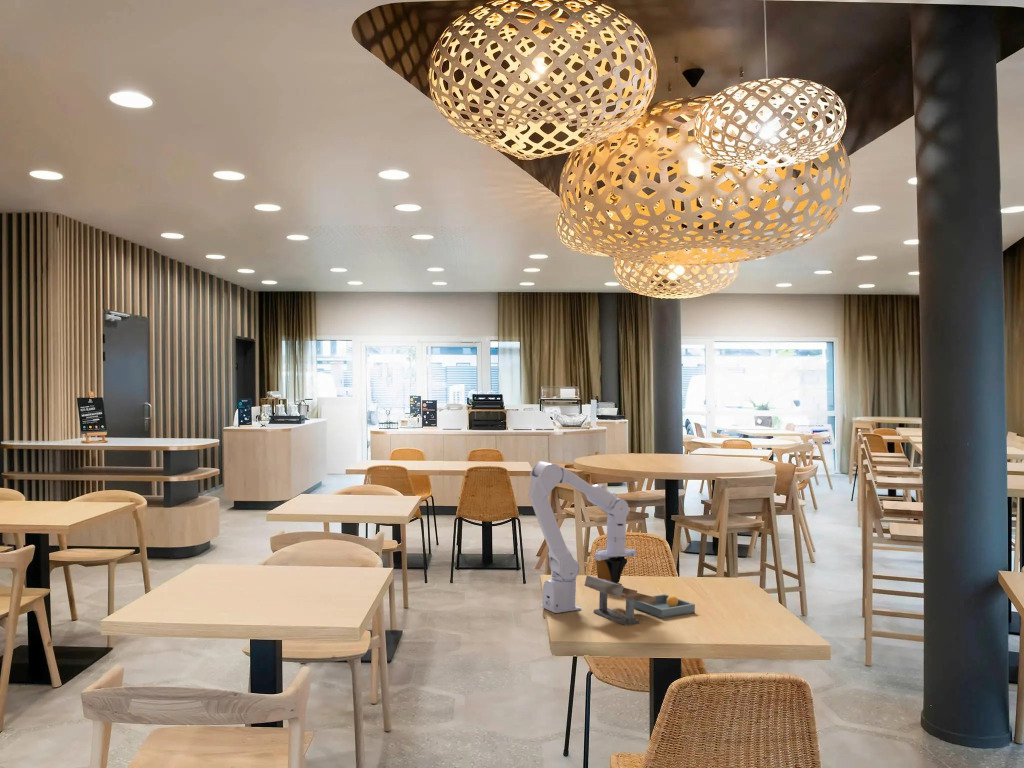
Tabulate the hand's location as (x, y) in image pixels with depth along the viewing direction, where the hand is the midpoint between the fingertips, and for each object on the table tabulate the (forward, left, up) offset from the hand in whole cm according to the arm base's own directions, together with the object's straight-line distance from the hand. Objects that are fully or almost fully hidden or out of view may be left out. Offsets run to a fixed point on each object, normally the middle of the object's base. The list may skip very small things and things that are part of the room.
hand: (615, 581), depth 239 cm
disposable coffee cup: (+12, +18, -7) cm, 23 cm away
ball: (+13, -11, -5) cm, 18 cm away
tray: (+10, -11, -7) cm, 16 cm away
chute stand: (-8, -11, -7) cm, 16 cm away
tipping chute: (-7, -7, -1) cm, 10 cm away
